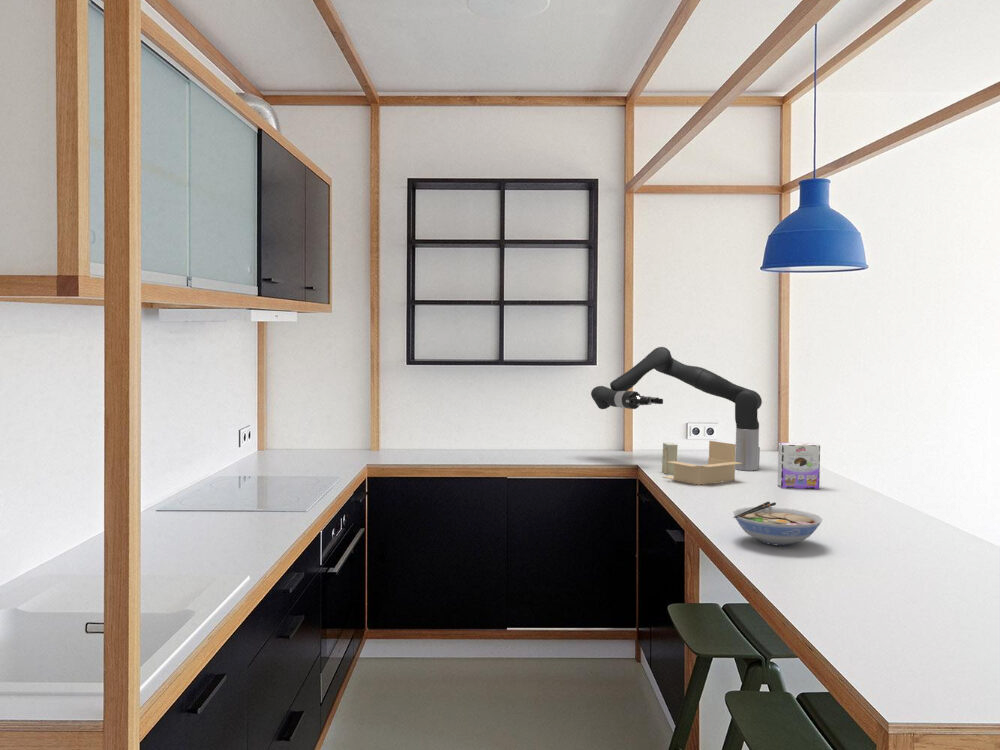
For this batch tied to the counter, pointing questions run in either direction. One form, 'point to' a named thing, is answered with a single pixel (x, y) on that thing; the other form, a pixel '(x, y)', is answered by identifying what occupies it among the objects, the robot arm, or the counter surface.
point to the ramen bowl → (777, 523)
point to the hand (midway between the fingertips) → (655, 401)
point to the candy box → (799, 465)
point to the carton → (708, 466)
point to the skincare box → (669, 457)
